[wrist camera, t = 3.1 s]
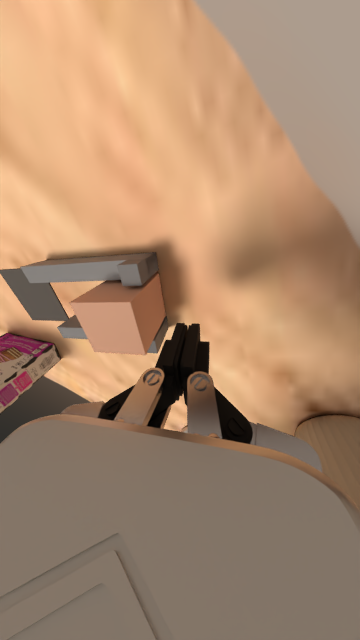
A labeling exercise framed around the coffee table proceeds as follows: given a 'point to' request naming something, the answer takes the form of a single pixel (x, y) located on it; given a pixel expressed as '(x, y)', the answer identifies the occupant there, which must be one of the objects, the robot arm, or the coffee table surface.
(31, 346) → the candy bar box
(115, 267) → the grey u-shaped bracket
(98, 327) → the block
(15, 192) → the coffee table surface
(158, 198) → the coffee table surface
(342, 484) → the canister
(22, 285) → the mat
